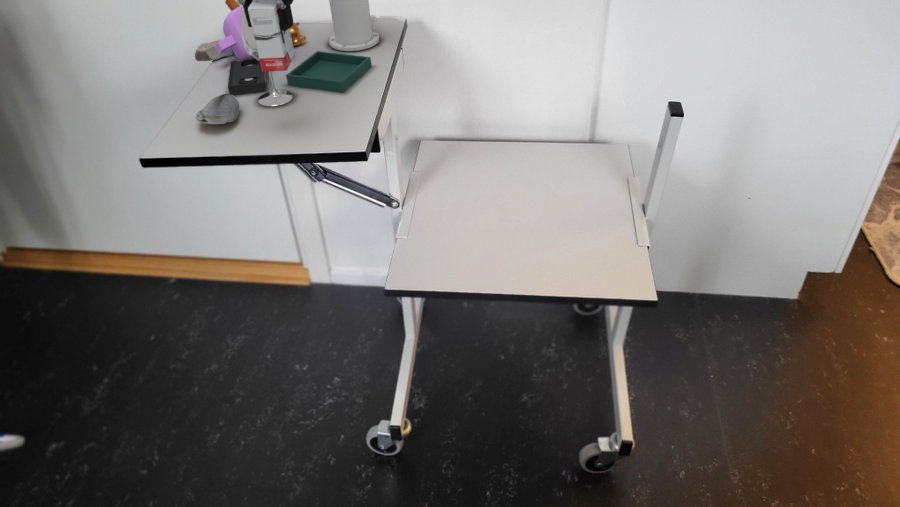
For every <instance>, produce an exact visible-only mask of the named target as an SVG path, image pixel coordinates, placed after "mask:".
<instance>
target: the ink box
mask: <svg viewBox="0 0 900 507" xmlns="http://www.w3.org/2000/svg"><path fill="white" fill-rule="evenodd" d="M279 8H280V7H279V5H278V4H277V2H276V0H253V1H252V3H251V4H250V6H249V7H248V13H249V17H250V21H251V25H252V30H253V34H254V38H255V42H256V47H257V51H258V55H259V59H260V64H261V68H262V71H263V72H265V71H266V72H268V71H271V72H282V71H283V72H284V71H286V72H287V71H288V69H289V68H290V65H291V62H292V60H293V57H294V55H295V48H294V46H293V43H292V39H293V38H291V33H290V28H289V29H288V30H286V31H282V30H281V26H280V21H279V17H278V12H277V9H279Z"/></svg>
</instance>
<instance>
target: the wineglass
mask: <svg viewBox="0 0 900 507" xmlns="http://www.w3.org/2000/svg"><path fill="white" fill-rule="evenodd" d="M241 27H242V38H243V44H244V47H245V50H246V51H247V53H248V54H249V55H250V56H251V57H252V58H253V59H255V60H257V61H259V62H260V59H259V55H258V51H257V47H256V42H255V38H254V34H253V30H252V27H249V26H248V23H247V19H246V16H245V12H244V8H243V6H242V7H241ZM272 73H273V72H272V71H267V75H268V78H269V84H270V87H271V91H268V92H265V93H262V94H261V95H260V96H259V97H258V99H257V102H258V104H259V105H261V106H263V107H269V108H271V107H272V108H273V107H280V106H283V105H287V104H288V103H290V102H291V101H292V100H293V98H294V95H293V93H292V92H290V91H289V90H283V89H276V86H275V82H274V78H273V74H272Z"/></svg>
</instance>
